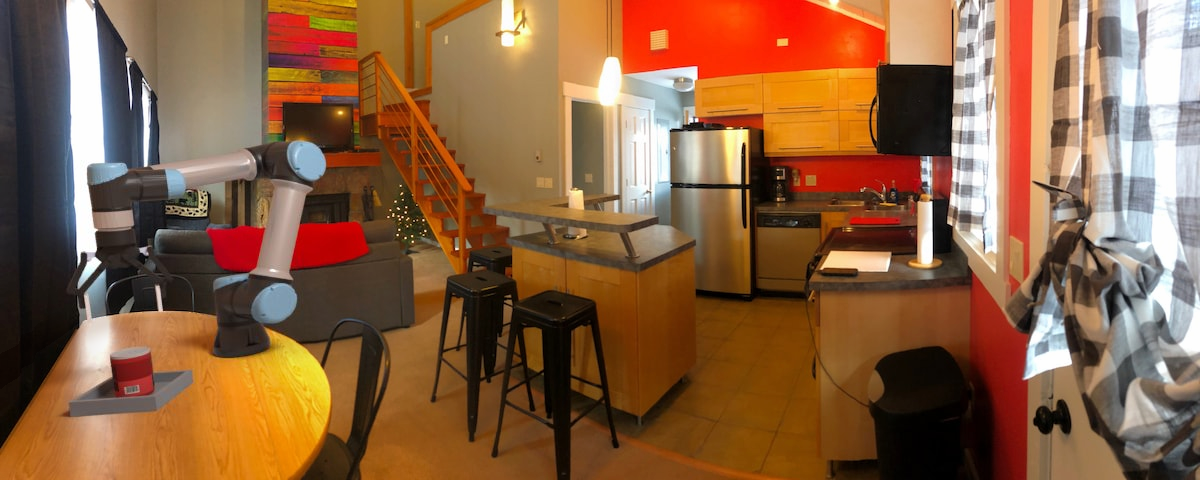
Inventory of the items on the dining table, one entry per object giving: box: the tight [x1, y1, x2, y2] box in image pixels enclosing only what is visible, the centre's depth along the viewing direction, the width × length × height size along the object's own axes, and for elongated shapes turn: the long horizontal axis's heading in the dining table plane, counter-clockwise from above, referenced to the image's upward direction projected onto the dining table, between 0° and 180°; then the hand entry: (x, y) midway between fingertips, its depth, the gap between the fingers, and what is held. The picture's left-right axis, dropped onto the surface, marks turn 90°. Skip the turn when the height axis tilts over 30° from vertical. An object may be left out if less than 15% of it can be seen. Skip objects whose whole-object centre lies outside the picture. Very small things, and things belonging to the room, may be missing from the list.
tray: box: [68, 369, 194, 418], centre depth 153 cm, size 18×18×4 cm
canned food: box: [109, 346, 155, 398], centre depth 153 cm, size 8×8×11 cm
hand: (126, 316), depth 151 cm, fingers open, 13 cm apart
